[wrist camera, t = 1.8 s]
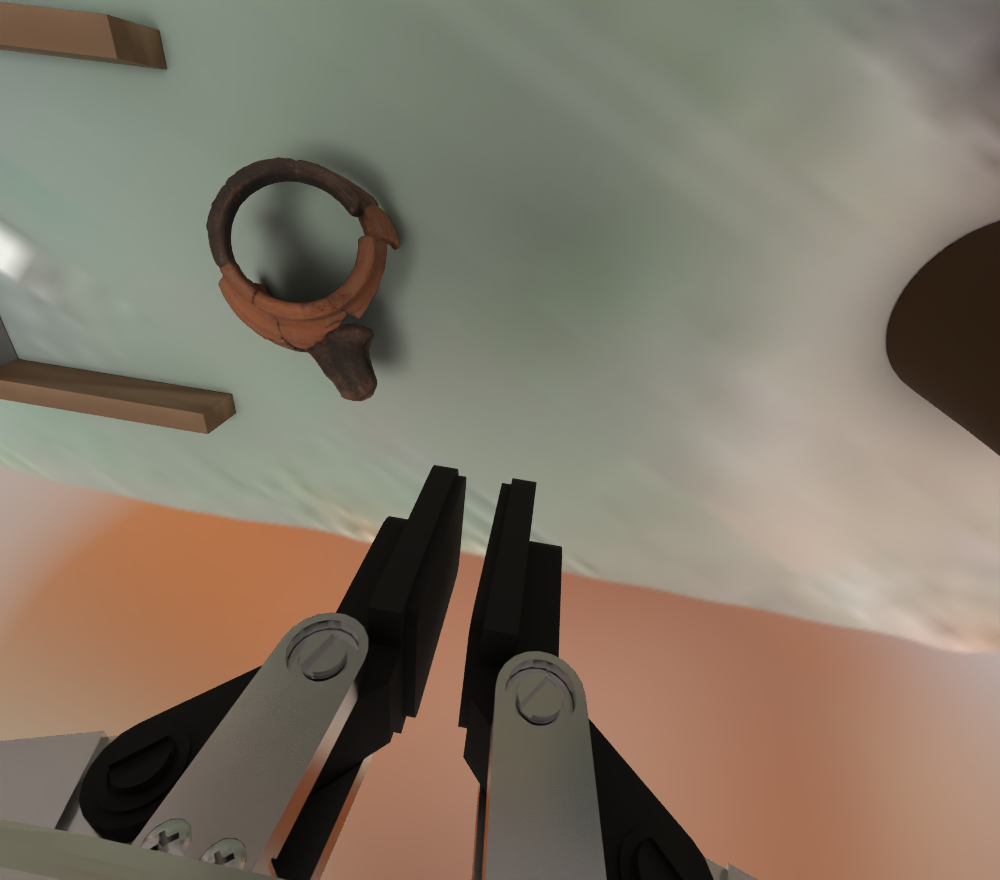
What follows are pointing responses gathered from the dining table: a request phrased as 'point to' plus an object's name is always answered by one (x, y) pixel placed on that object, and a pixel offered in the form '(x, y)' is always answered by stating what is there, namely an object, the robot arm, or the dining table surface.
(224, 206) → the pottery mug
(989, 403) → the olive oil
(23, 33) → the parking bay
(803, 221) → the dining table surface
